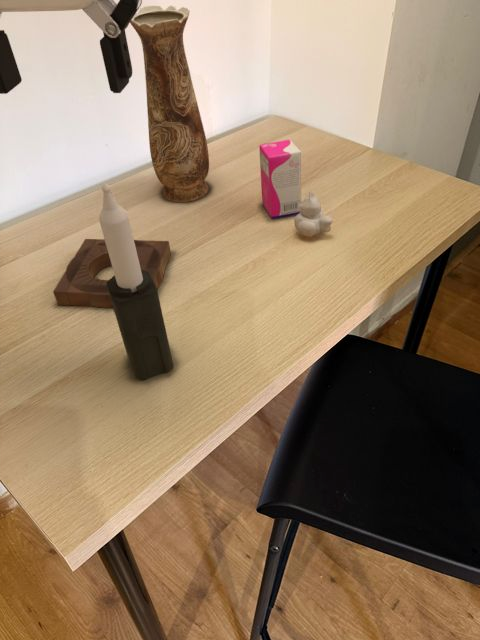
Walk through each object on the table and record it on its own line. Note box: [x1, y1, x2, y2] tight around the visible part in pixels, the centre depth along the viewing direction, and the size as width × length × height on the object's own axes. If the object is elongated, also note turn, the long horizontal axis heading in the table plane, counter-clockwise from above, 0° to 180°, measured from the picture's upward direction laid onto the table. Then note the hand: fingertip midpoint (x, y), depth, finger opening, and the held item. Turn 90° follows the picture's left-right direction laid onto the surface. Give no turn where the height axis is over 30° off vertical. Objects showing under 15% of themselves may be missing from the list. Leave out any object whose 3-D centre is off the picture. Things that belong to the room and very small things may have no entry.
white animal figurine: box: [293, 189, 334, 238], centre depth 87 cm, size 5×7×8 cm
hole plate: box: [52, 238, 172, 309], centre depth 82 cm, size 14×14×2 cm
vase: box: [129, 5, 210, 203], centre depth 92 cm, size 10×11×30 cm
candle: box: [98, 183, 174, 381], centre depth 60 cm, size 5×5×25 cm
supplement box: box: [258, 139, 302, 221], centre depth 92 cm, size 6×6×12 cm
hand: (65, 87), depth 45 cm, fingers open, 9 cm apart
